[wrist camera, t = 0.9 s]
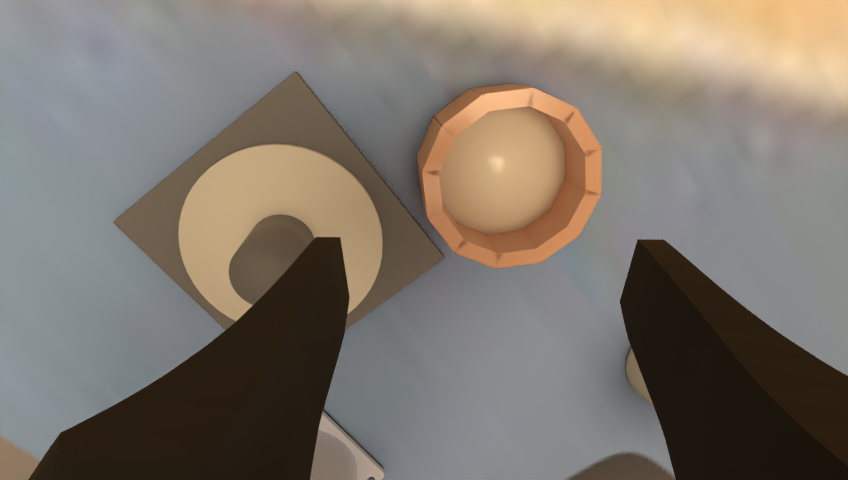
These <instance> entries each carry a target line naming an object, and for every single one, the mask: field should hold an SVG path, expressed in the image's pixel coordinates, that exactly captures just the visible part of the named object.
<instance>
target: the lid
mask: <svg viewBox="0 0 848 480" xmlns="http://www.w3.org/2000/svg"><path fill="white" fill-rule="evenodd" d="M178 237H179V248H180V252H181V256H182V260H183V263H184V265H185V268H186V271H187V273H188V275H189V276H190V278H191V280H192V282H193V284H194V285H195V286H196V288H197V289H198V291H199V292H200V293H201V294H202V295H203V296H204V298H205V299H206V300H207V301H208V302H209V303H210V304H211V305H213V306H214V307H215V308H216V309H217V310H219V311H220V312H221V313H223V314H224V315H226V316H227V317H229V318H231V319H233V320H235V321H237V320H238V319H239V318H240V317H241V316H242V315H243V314H244V313H245V312H246V311H247V310H248V309H250V308H251V307H252V306H253V305H254V304H255V303H256V302H257V301H258V300H259V299H260V298H261V297H262V296H263V295H264V294H265V293H266V292H267V291H268V290H269V289H270V288H271V286H272V285H273V284H274V283H275V282H276V281H277V280H278V279H279V278H280V277H281V276H282V275H283V274H284V272H285V271H286V270H287V269H288V268H289V267H290V266H291V265H292V263H293V262H294V261H295V260H296V259H297V258H298V257H299V255H300V254H301V253H302V252H303V251H304V250H305V248H306V247H307V246H308V245H309V244H310V243H311V241H312V240H313V239H314V238H316V237H340V238H341V245H342V251H343V258H344V264H345V271H346V277H347V284H348V290H349V296H350V299H349V306H348V313H350V312H351V311H352V310H353V309H354V308H356V307H357V305H358V304H359V303H360V302H361V301H362V300H363V299H364V298H365V296H366V295H367V293H368V292H369V291H370V289H371V287H372V285H373V283H374V281H375V279H376V277H377V274H378V271H379V268H380V264H381V259H382V247H383V238H382V227H381V223H380V218H379V215H378V212H377V209H376V207H375V204H374V202H373V200H372V199H371V197H370V195H369V193H368V192H367V190H366V189H365V187H364V186H363V185H362V183H361V182H360V181H359V180H358V179H357V178H356V177H355V176H354V175H353V173H351V172H350V171H349V170H348V169H347V168H345V167H344V166H343V165H342V164H340V163H339V162H337V161H336V160H334V159H332V158H331V157H329V156H327V155H325V154H323V153H321V152H319V151H316V150H313V149H310V148H307V147H303V146H298V145H293V144H281V143H272V144H261V145H256V146H251V147H248V148H245V149H242V150H239V151H236V152H234V153H232V154H230V155H228V156H226V157H225V158H223V159H222V160H220V161H219V162H217V163H216V164H214V165H213V166H212V167H210V168H209V169H208V170H207V171H206V172H205V173H204V174H203V175H202V176H201V177H200V178H199V179H198V180H197V182H196V183H195V184H194V186H193V187H192V189H191V190H190V192H189V194H188V196H187V197H186V200H185V202H184V205H183V208H182V211H181V216H180V220H179V232H178Z"/></svg>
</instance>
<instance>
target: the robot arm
mask: <svg viewBox="0 0 848 480" xmlns="http://www.w3.org/2000/svg"><path fill="white" fill-rule="evenodd" d="M349 299H350V296H349V290H348V284H347V277H346V271H345V264H344V258H343V251H342V245H341V238H340V237H316V238H314V239H313V240H312V241H311V243H310V244H309V245H308V246H307V247H306V248H305V250H304V251H303V252H302V253H301V254H300V255H299V257H298V258H297V259H296V260H295V261H294V262H293V263H292V265H291V266H290V267H289V268H288V269H287V270H286V271H285V272H284V274H283V275H282V276H281V277H280V278H279V279H278V280H277V281H276V282H275V283H274V284H273V285H272V286H271V288H270V289H269V290H268V291H267V292H266V293H265V294H264V295H263V296H262V297H261V298H260V299H259V300H258V301H257V302H256V303H255V304H254V305H253V306H252V307H251V308H250V309H248V310H247V311H246V312H245V313H244V314H243V315H242V316H241V317H240V318H239V319H238V320H237V321H236V322H235V323H233V324H232V325H231V326H230V327H229V328H228V329H227V330H225V331H224V332H223V333H222V334H221V335H219V336H218V337H217V338H216V339H214V340H213V341H212V342H211V343H209V344H208V345H207V346H205V347H204V348H203V349H201V350H200V351H199V352H197V353H196V354H194V355H193V356H192V357H190V358H189V359H187V360H186V361H184V362H183V363H182V364H180V365H179V366H177V367H176V368H175V369H173V370H172V371H170V372H169V373H167V374H166V375H164V376H163V377H161V378H159V379H158V380H156V381H155V382H153V383H151V384H150V385H148V386H147V387H145V388H143V389H142V390H140V391H138V392H137V393H135V394H133V395H131V396H130V397H128V398H126V399H125V400H123V401H121V402H119V403H117V404H116V405H114V406H112V407H110V408H108V409H106V410H104V411H102V412H101V413H99V414H97V415H95V416H93V417H91V418H89V419H87V420H85V421H83V422H81V423H79V424H77V425H76V426H74V427H72V428H70V429H67V430H65V431H63V432H61V433H60V435H59V436H58V437H57V439H56V440H55V441H54V443H53V444H52V446H51V447H50V448H49V450H48V451H47V453H46V454H45V456H44V457H43V459H42V460H41V462H40V463H39V465H38V466H37V468H36V469H35V471H34V472H33V474H32V475H31V477H30V478H29V480H382V479H383V478H384V470H383V468H382V467H381V466H380V465H379V464H378V463H377V462H376V461H375V460H373V459H372V458H371V457H370V456H369V455H368V454H367V453H366V452H365V451H364V450H363V449H362V448H361V447H360V446H359V445H358V444H357V443H356V442H355V441H354V440H353V439H352V438H351V437H350V436H349V435H348V434H346V433H345V432H344V431H343V430H342V429H341V428H340V427H339V426H338V425H337V424H336V423H335V422H334V421H333V420H332V419H331V418H330V417H329V416H328V415H327V414H326V413H325V412H324V411H323V408H324V405H325V401H326V398H327V394H328V391H329V387H330V384H331V380H332V377H333V373H334V369H335V366H336V362H337V359H338V355H339V352H340V348H341V344H342V341H343V337H344V333H345V327H346V320H347V314H348V306H349ZM620 304H621V309H622V314H623V318H624V323H625V327H626V331H627V335H628V339H629V342H630V345H631V348H632V350H633V353H634V356H635V358H636V361H637V364H638V366H639V369H640V372H641V374H642V377H643V379H644V382H645V385H646V387H647V390H648V392H649V395H650V398H651V400H652V403H653V405H654V408H655V411H656V413H657V416H658V419H659V421H660V424H661V427H662V430H663V433H664V436H665V440H666V444H667V447H668V451H669V455H670V459H671V463H672V466H673V470H674V474H675V478H676V480H848V376H847V375H845V374H843V373H841V372H840V371H838V370H836V369H834V368H833V367H831V366H829V365H828V364H826V363H824V362H823V361H821V360H819V359H818V358H816V357H815V356H813V355H812V354H810V353H809V352H807V351H806V350H804V349H802V348H801V347H799V346H798V345H796V344H795V343H793V342H792V341H790V340H789V339H787V338H786V337H784V336H783V335H781V334H780V333H778V332H777V331H776V330H774V329H773V328H771V327H770V326H769V325H767V324H766V323H765V322H763V321H762V320H761V319H759V318H758V317H757V316H755V315H754V314H753V313H751V312H750V311H749V310H747V309H746V308H745V307H744V306H742V305H741V304H740V303H738V302H737V301H736V300H735V299H733V298H732V297H731V296H730V295H729V294H727V293H726V292H725V291H724V290H722V289H721V288H720V287H719V286H718V285H716V284H715V283H714V282H713V281H712V280H711V279H709V278H708V277H707V276H706V275H705V274H704V273H702V272H701V271H700V270H699V269H698V268H697V267H696V266H694V265H693V264H692V263H691V262H690V261H689V260H687V259H686V258H685V257H684V256H683V255H682V254H681V253H679V252H678V251H677V250H676V249H675V248H673V247H672V246H671V245H670V244H669V243H667V242H666V241H665V240H638V241H637V244H636V247H635V251H634V254H633V258H632V261H631V265H630V268H629V272H628V275H627V279H626V282H625V286H624V289H623V293H622V296H621V300H620ZM369 477H374V478H369Z"/></svg>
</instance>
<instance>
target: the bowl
mask: <svg viewBox="0 0 848 480" xmlns="http://www.w3.org/2000/svg"><path fill="white" fill-rule="evenodd" d="M434 116H435V117H433V119H432V121H431V124H430V126H429V128H428V131H427V133H426V135H425V138H424V140H423V142H422V145H421V147H420V150H419V152H418V154H417V163H418V172H419V180H420V188H421V196H422V200H423V204H424V207H425V211H426V214H427V218H428V219H429V221H430V222H431V223H432V224H433V226H434V227H435V228H436V230H437V231H438V232H439V233H440V235H441V236H442V237H443V238H444V240H445V241H446V242H447V243H448V245H449V246H450V247H451V249H452V250H453V251H454V252H455V253H456V254H459V255H462V256H464V257H467V258H470V259H472V260H475V261H477V262H480V263H483V264H485V265H488V266H491V267H493V268H503V267H511V266H518V265H525V264H532V263H539V262H540V261H541V262H542V261H543V260H545V259H546V258H548V257H549V256H550V255H552V254H553V253H555V252H556V251H558V250H559V249H561V248H562V247H563V246H565V245H566V244H568V243H569V242H571V241H572V240H573V239H575V238H576V237H578V235H579V234H580V233H581V231H582V229H583V227H584V225H585V223H586V222H587V220H588V218H589V216H590V214H591V213H592V211H593V209H594V207H595V205H596V203H597V202H598V200H599V198H600V196H601V195H600V194H601V146H600V145H599V143H598V141H597V140H596V138H595V137H594V135H593V133H592V132H591V130H590V128H589V127H588V125H587V123H586V122H585V120H584V119H583V117H582V115H581V114H580V112H579V110H578V109H577V108H576V107H574V106H572V105H569V104H567V103H565V102H563V101H561V100H559V99H557V98H554V97H552V96H550V95H548V94H546V93H544V92H542V91H539V90H537V89H535V88H532V87H527V86H523V85H518V84H513V83H511V84H503V85H495V86H487V87H479V88H472V89H468V90H467V91H466V92H464V93H463V94H462V95H460V96H459V97H458V98H457V99H455V100H454V101H453V102H451V103H450V104H449V105H447V106H446V107H445V108H444V109H442V110H441V111H440V112H438V113H437V114H436V115H434Z"/></svg>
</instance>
